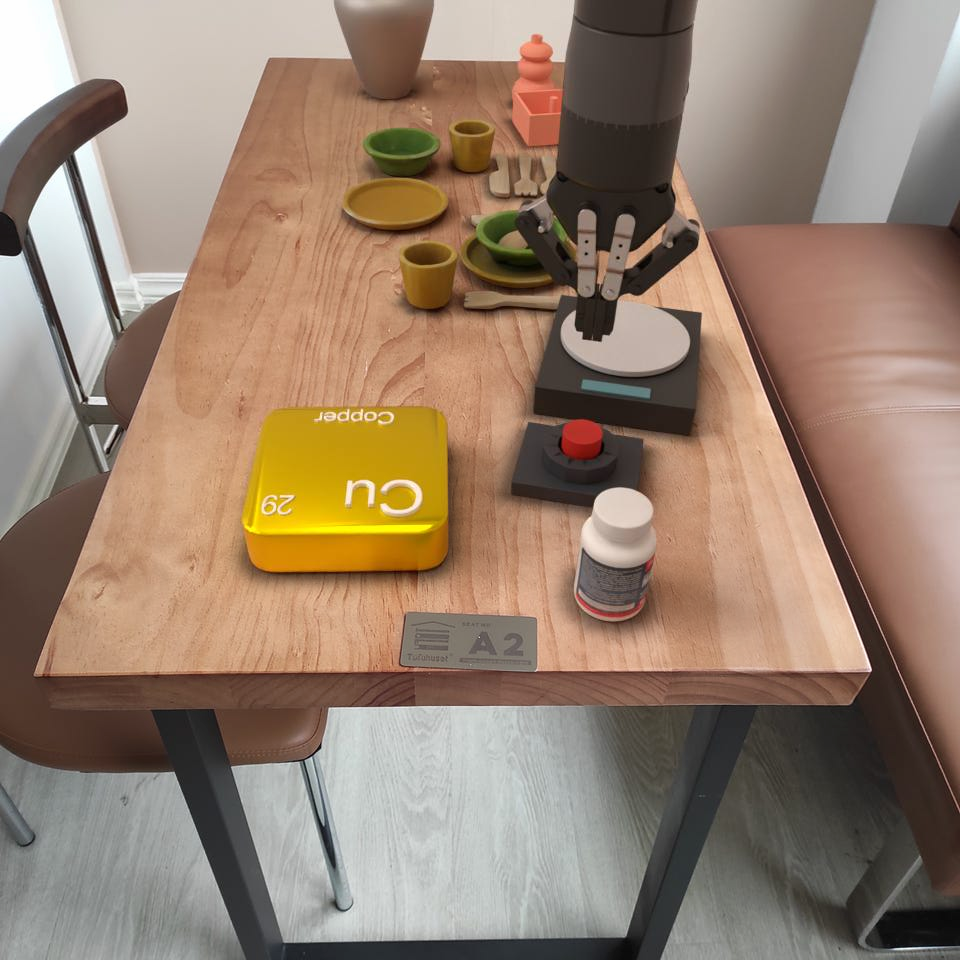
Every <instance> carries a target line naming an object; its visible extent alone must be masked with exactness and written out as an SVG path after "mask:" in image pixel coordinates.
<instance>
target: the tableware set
mask: <svg viewBox="0 0 960 960" xmlns="http://www.w3.org/2000/svg"><path fill="white" fill-rule="evenodd" d="M448 133H449V139H450V147H451V153H452V158H453V159H452V160H453V165H454V167H455V168H456V169H457V170H459V171H460V172H464V173H479V172H483V171H485V170H486V169H487V168H488V167H489V166H490V161H491V155H492V149H493V145H494V138H495V133H496V127H495V125H494V124H493V123H492V122H490V121H486V120H483V119H469V118H468V119H460V120H457V121H454V122H452V123H451V124H449V126H448ZM441 144H442V143H441V140H440V138H439V137H438V136H437V135H435V134H434V133H432V132H430V131H427V130H424V129H421V128H416V127H415V128H414V127H390V128H385V129H380V130H377V131H375V132H372V133H370V134H368V135H367V136H366V137H365V138H364V139H363V141H362V147H363V150H364V151H365V152H366V154H367V155H369V156H370V157H371V158H372V160H373V161H374V163H375V164H376V167H378V169H379V170H380V171H381V172H383V173H384V174H386V175H391V176H395V177H383V178H376V179H371V180H367V181H364V182H361V183H358V184H356V185H354V186H352V187H350V188H349V189H348V190H346V191H345V193H344V194H343V195H342V197H341V207H342V209H343V210H344V211H345V212H346V214H347V215H348V216H350V218H352V219H353V220H355V221H356V222H358V223H359V224H362V225H364V226H366V227H371V228H374V229H379V230H386V231H387V230H388V231H398V230H399V231H400V230H411V229H416V228H419V227H423V226H426V225H428V224H430V223H432V222H434V221H435V220H437V218H439V216H441V215H442V214H443V213H444V212H445V210H446V209H447V208H448V206H449V197H448V195H447V193H446V192H445V191H444V190H443V189H442V188H440V187H439V186H437V185H435V184H434V183H430V182H429V181H424V180H421V179H416V178H410V176H416V175H417V174H420V173H423V171H425V170H426V169H427V167H428V165H429V164H430V162H431V160H432V158H433V156H435V155H436V154H437V153H438V152H439V150H440V148H441ZM532 158H533V157H532V155H530V154H528V153H521V154H520V155H518V168H519V175H520V180H519V179H518V180H517V181H516V182H515V183H514V184H513V191H514V195H515V196H518V197H519V196H522V195H523V196H524V197H526V196H527V197H528V196H530V197H536V196H538V188H539V192H540V193H541V194H542V195H543V196H544V195H546V192H547V189H548V187H549V183H550V181H551V180H552V178H553V177H554V175H555V173H556V165H557V158H556V157H555V156H554V155H553V154H543V155H542V156H541V158H540V159H541V160H540V163H541V166H542V170H543V173H544V176H545V179H546V180H545V181H544V182H542V183H541V184H540V186H539V187H538V184H537V182H535V181H533V180H532V179H531V171H532ZM495 164H496V168H497V170H496V171H493V172H491V173H490V174H489V190H490V191H489V192H490V193H491V194H492V195H493V196H494V197H496V198H497V197H498V198H504V199H505V198H509V197H510V196H511V188H510V173H509V161H508V155H506V154H505V153H498V154H496V155H495ZM518 212H519V209H509V210H502V211H498V212H494V213H492V214H473V215H471V217H470V220H471V221H470V222H471V224H472V226H474V227H476V228H475V233H474V234H473V235H471V236H469V237H468V238H467V239H466V240H465V241H464V242H463V243H462V245H461V246H460V248H459V253H458V250H457V249H456V248H455V247H454V246H452V245H450V244H448V243H446V242H443V241H440V240H439V241H438V240H417V241H412V242H410V243H407V244H405V245H404V246H402V247H401V248H400V249H399V251H398V260H399V261H398V262H399V266H400V271H401V276H402V281H403V286H404V292H405V296H406V300H407V301H408V303H409V304H410V305H412V306H414V307H416V308H419V309H424V310H434V309H438V308H441V307H443V306H445V305H447V304H448V302H450V300H451V297H452V294H453V287H454V282H455V276H456V271H457V265H458V259H459V257H460V260H461V262H462V263H463V265H464V266H465V267H466V268H467V269H468V270H469V271H470V272H471V273H472V274H474V275H475V276H476V277H477V278H479V279H481V280H482V281H485V282H487V283H489V284H492V285H496V286H499V287H504V288H509V289H510V288H511V289H530V288H532V289H533V288H538V287H542V286H546V285H548V284H551V283H555V282H554V281H553V279H552V278H551V277H550V275H549V274H548V272H547V271H546V270H545V268H544V267H543V265H542V264H541V262H540V261H539V260H538V258H537V257H536V255H535V254H534V253H533V251H532V250H531V248H530V247H529V246H528V244H527V243H526V241H525V240H524V238H523V237H522V236H521V234H520V233H519V231H518V230H517V229H516V227H515V219H516V217H517V214H518ZM551 213H552V215H553V218H554V221H553V224H552V228H553V229H554V230H555V232H556V233H557V235H558V236H559V238H560V239H561V241H562V242H563V244H564V245H565V247H566V248H567V249H568V251H569V252H570V254H571V255H572V257H573V258H574V260H575V262H577V257H578V254H577V251H576V249H575V247H574V246H573V245H572V244H571V243H570V242H569V241H568V238H569V237H568V235H567V234H566V232H565V230H564V229H563V227H562V226H561V224H560V223H559V221H558V219H557V218H556V216H555V215H554V213H553V211H551ZM464 297H465V298H464V302H463V307H464V308H466V309H477V310H478V309H479V310H480V309H481V310H493V309H497V308H500V307H503V306H504V307H521V308H533V309H545V310H556V311H557V308H558V304H559V301H560V297H561V296H551V295H550V296H549V295H548V296H546V295H545V296H543V295H508V294H502V293H499V292H497V291H493V290H476V291H475V290H474V291H467V292H465V293H464Z"/></svg>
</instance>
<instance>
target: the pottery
mask: <svg viewBox="0 0 960 960" xmlns="http://www.w3.org/2000/svg"><path fill="white" fill-rule="evenodd" d="M530 39H531V41H527V42H525V43H523V44H522V45H521V46H520V47H519V55H520V56H521V58H520V59H519V61H518V62H517V72H518V74H519V78H518V79H517V80H516V81H515V82H514V84H513V86H512V89H511V99H512V118H511V121H512V123H513V125H514V127H515V128H516V130H517V132H518V133H519V134H520V136H521V138H522V139H523V141H524V143H525V144H526V145H527V147H539V146H540V147H541V146H552V145H558V140H559V128H560V116H561V104H562V92H563V88H561V89H560V88H558V89H556V87H555V84H554V82H553V81H552V80H551V78H550V77H551V75H552V74H553V70H554V65H553V61H552V60H551V59H550V58H551V57H552V56H553V55H554V49H553V47H552V46H551V45H550V44H549V43H547V42H545V41H543V39H544V35H542V34H539V33H534V34H531V37H530Z"/></svg>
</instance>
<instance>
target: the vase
mask: <svg viewBox="0 0 960 960" xmlns="http://www.w3.org/2000/svg"><path fill="white" fill-rule="evenodd" d="M333 6H334V7H333V8H334V11H335V15H336V18H337V21H338V23H339V24H338V25H339V26H340V29H341V33H342V35H343V38H344V40H345V44H346V47H347V50H348V51H349V54H350V57H351V60H352V63H353V65H354V67H355V69H356V72H357V74H358V76H359V78H360V80H361V83H362V85H363V87H364V89H365V92H366V94H367V95H369V96H370V97H371V98H375V99H380V100H397V99H400V98H403V97H406V96H408V95H409V93H410V92H411V89H412V86H413V83H414V81H415V78H416V76H417V73H418V70H419V67H420V64H421V61H422V57H423V54H424V50H425V46H426V42H427V38H428V34H429V31H430V27H431V23H432V20H433V14H434V9H435V0H333Z"/></svg>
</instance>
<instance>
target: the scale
mask: <svg viewBox="0 0 960 960" xmlns="http://www.w3.org/2000/svg"><path fill="white" fill-rule="evenodd" d="M559 297H560V301H559V304H558V308H557V310H556V311H555V314H554V319H553V322H552V325H551V329H550V333H549V336H548V340H547V343H546V347H545V351H544V354H543V357H542V361H541V364H540V368H539V372H538V375H537V378H536V382H535V385H534V395H533V409H532V413H533V414H536V415H544V416H549V417H557V418H563V419H571V420H579V419H583V420H589V421H592V422H594V423H597V424H606V425H612V426H619V427H626V428H631V429H632V428H633V429H639V430H640V429H641V430H648V431H654V432H661V433H668V434H673V435H674V434H675V435H681V436H682V435H683V436H689V437H690V436H691V433H692V430H693V429H692V428H693V425H694V419H695V415H696V411H697V396H698V382H699V381H698V380H699V369H700V367H699V366H700V351H701V350H700V349H701V336H702V335H701V334H702V318H703V312H700V311H695V310H694V311H693V310H686V309H678V308H669V307H662V306H655V305H654V306H653V305H649V304H645V303H641V302H636V301H630V300H629V301H627V300H618V302H617V309H616V316H615V322H614V328H613V331H612V333H611V334H610V336H607V335H603V338H602V342H597V341H589V340H582V335H583V332H577V331H576V329H575V326H574V323H575V314H576V305H577V296H573V295H566V294H561V295H560V296H559ZM592 338H593V336H592Z"/></svg>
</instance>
